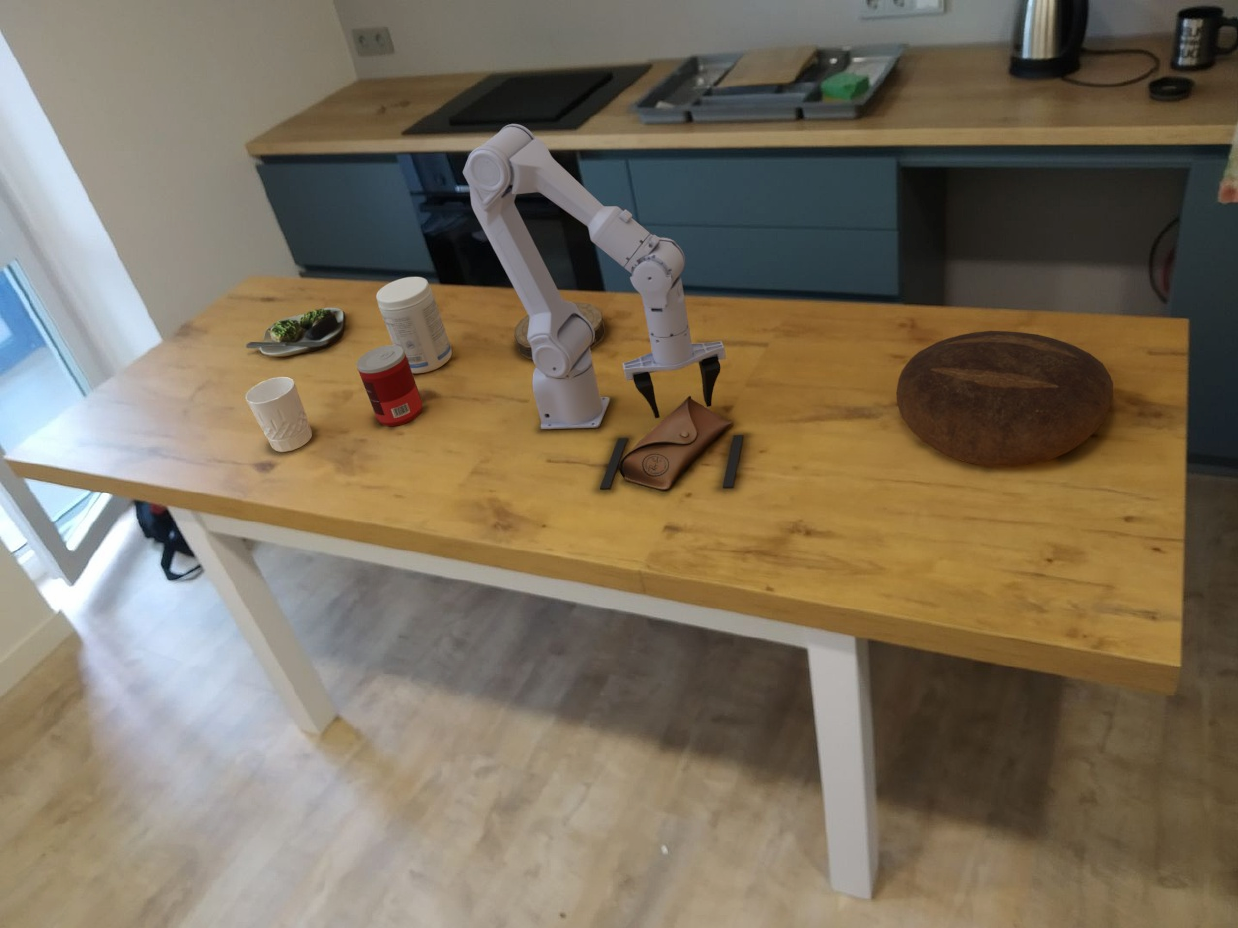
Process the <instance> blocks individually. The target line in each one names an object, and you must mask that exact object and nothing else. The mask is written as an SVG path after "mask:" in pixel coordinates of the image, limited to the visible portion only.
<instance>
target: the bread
mask: <svg viewBox="0 0 1238 928" xmlns="http://www.w3.org/2000/svg"><path fill="white" fill-rule="evenodd" d="M896 386H897V387H896V403H897V407H898V409H899V412H900V415H901V417H902V419H903V421H904V422H905V424H906V425H907V427H908V428H909V430H911V432H912V433H913V434H914V435H915V436H917V437H918V438H919V439H920V440H922V442H924V443H925V444H928V445H929V446H931V447H932V448H934V449H936V450H937V451H939V452H941V453H943V454H945V455H947V456H949V457H951V458H955V459H957V460H960V461H963V462H966V463H970V464H975V465H976V464H977V465H982V466H987V467H998V466H999V467H1008V466H1009V467H1011V466H1020V465H1027V464H1028V465H1029V464H1034V463H1041V462H1046V461H1049V460H1051V459H1055V458H1058V457H1060V456H1062V455H1064V454H1067V453H1069V452H1071V451H1072V450H1073V449H1075V448H1076V447H1078V446H1080V445H1081V444H1083V443H1084V442H1085V441H1087V440H1088V439H1089V438H1090V437H1092V435H1093V434H1094V433H1095V432H1097V430H1099V428H1100V426H1101V424H1102V423H1103V421H1104V419H1105V418H1106V416H1107V414H1108V412H1109V408H1110V406H1111V404H1112V401H1113V398H1114V382H1113V379H1112V376H1111V374H1110V372H1109V371H1108V370H1107V368H1106V366H1105V364H1104V363H1103V362H1101V361H1100V360H1099V359H1098V358H1097V357H1095V356H1094V355H1092V354H1091V353H1089V352H1088V351H1085V350H1084V349H1082V348H1079V347H1078V346H1076V345H1074V344H1071V343H1068V342H1065V341H1062V340H1060V339H1056V338H1053V337H1049V336H1045V335H1042V334H1037V333H1028V332H1019V331H1009V330H1008V331H1007V330H1006V331H1005V330H985V331H974V332H969V333H964V334H958V335H955V336H952V337H948V338H945V339H943V340H940V341H937V342H935V343H933V344H931V345H929V346H927V347H925V348H923V349H922V350H920V351H918V352H917V353H916V354H914V355H913V356H912V357H911V358H910V359H909V360H908V361H907V363H906V364H905V366H904V367H903V368H902V370H901V372H900V375H899V376H898V381H897V385H896Z"/></svg>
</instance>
